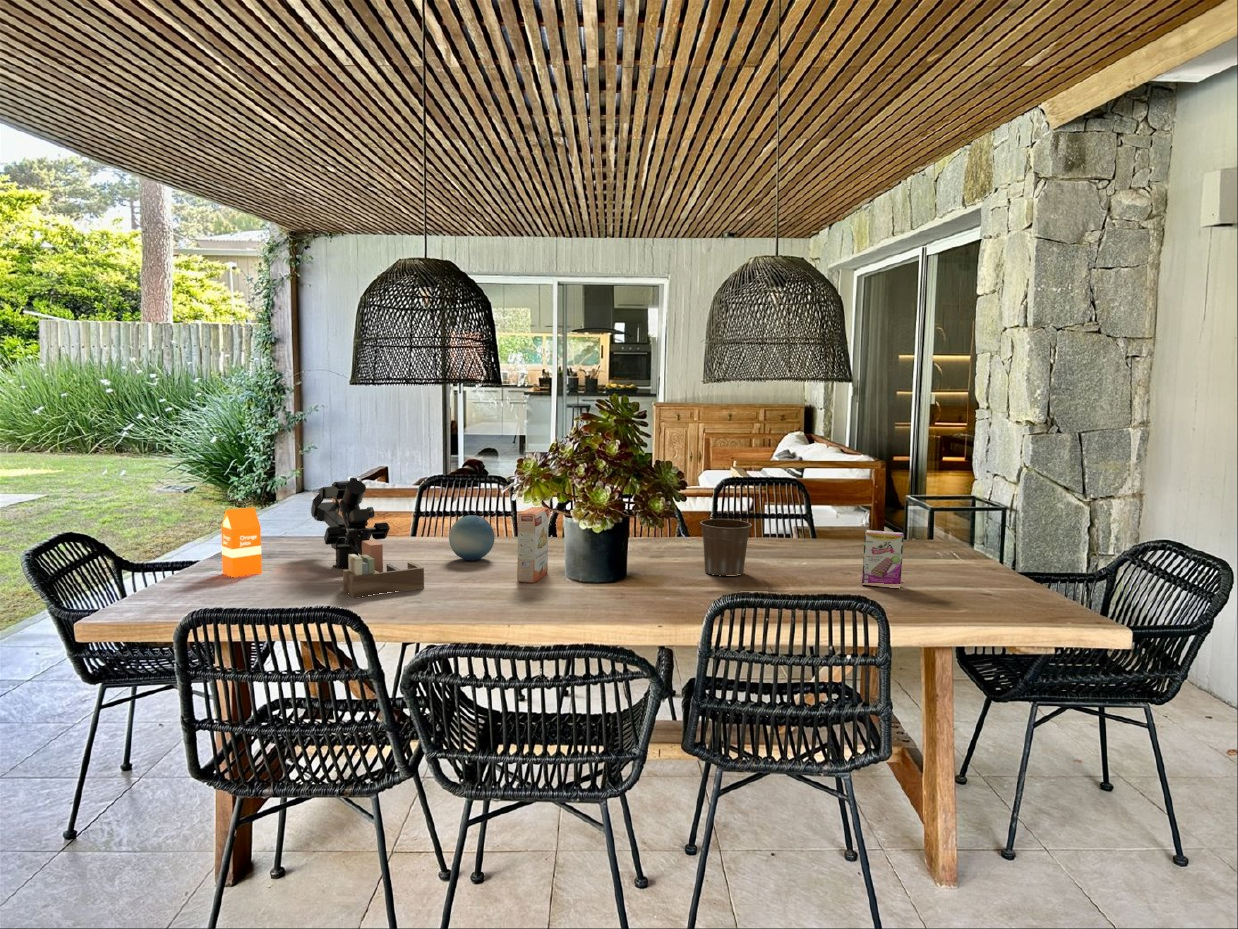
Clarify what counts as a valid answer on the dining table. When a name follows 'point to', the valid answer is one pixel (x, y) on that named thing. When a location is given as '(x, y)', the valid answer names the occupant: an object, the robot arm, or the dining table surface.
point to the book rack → (379, 577)
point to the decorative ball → (471, 537)
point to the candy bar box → (882, 557)
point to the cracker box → (532, 544)
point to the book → (374, 552)
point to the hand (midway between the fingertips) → (363, 555)
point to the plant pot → (725, 545)
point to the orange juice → (241, 542)
